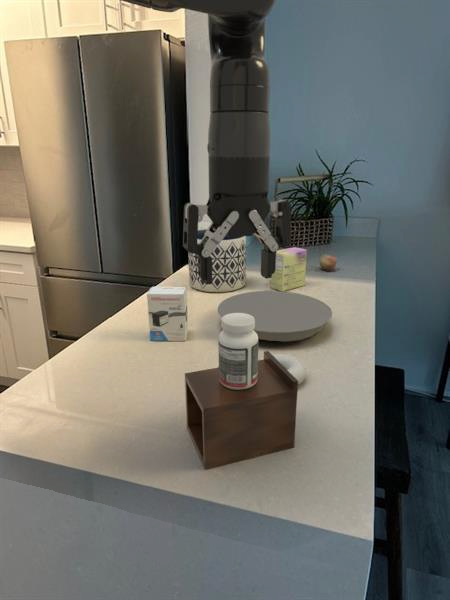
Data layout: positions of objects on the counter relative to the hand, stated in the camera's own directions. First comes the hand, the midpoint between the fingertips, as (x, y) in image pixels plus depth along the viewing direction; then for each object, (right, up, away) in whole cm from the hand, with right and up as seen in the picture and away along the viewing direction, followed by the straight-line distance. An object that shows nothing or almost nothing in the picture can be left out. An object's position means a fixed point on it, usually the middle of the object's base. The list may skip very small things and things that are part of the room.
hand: (237, 279), depth 58 cm
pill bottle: (0, -15, +5) cm, 16 cm away
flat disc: (+11, -9, +50) cm, 51 cm away
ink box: (-15, -12, +43) cm, 47 cm away
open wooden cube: (0, -24, +9) cm, 26 cm away
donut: (+9, -18, +25) cm, 32 cm away
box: (+18, +1, +79) cm, 81 cm away
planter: (-4, +2, +81) cm, 81 cm away
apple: (+35, +8, +96) cm, 102 cm away
